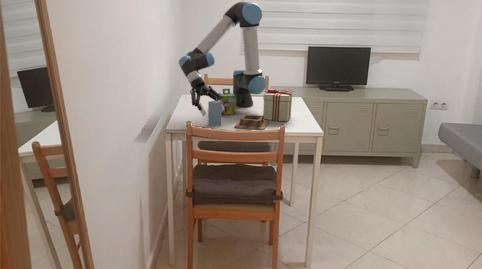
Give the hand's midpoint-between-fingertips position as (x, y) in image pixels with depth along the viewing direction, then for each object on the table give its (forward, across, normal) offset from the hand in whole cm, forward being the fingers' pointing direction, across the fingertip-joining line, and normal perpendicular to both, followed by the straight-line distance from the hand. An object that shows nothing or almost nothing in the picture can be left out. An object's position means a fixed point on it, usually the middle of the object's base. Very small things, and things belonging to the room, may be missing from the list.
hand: (214, 112), depth 239 cm
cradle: (+15, -16, +5) cm, 22 cm away
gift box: (+13, -40, +3) cm, 42 cm away
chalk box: (-5, -24, -15) cm, 29 cm away
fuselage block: (+5, -1, -5) cm, 7 cm away
